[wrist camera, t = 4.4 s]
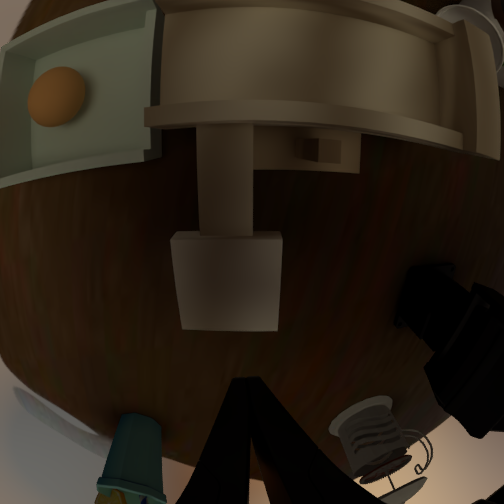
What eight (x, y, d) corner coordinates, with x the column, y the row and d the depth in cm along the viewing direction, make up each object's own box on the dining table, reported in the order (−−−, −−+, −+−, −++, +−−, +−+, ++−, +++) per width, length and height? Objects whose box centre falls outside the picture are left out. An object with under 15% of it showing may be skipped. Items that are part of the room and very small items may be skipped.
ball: (23, 80, 10) (71, 77, 13) (20, 136, 11) (69, 128, 15) (41, 57, 8) (98, 58, 11) (36, 124, 10) (95, 117, 13)
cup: (147, 384, 23) (127, 522, 10) (206, 416, 26) (211, 538, 12) (94, 422, 26) (73, 517, 12) (142, 447, 29) (134, 537, 15)
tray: (165, 20, 12) (152, -10, 8) (162, 157, 16) (143, 161, 12) (34, 57, 11) (1, 47, 7) (31, 177, 15) (-6, 189, 11)
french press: (329, 411, 29) (392, 580, 6) (409, 380, 29) (491, 519, 6) (327, 442, 32) (372, 576, 9) (395, 417, 33) (455, 534, 10)
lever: (448, 47, 9) (489, 34, 6) (425, 301, 16) (455, 335, 12) (171, 10, 9) (147, -25, 6) (181, 308, 16) (164, 353, 12)
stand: (351, 21, 13) (385, -3, 9) (354, 172, 18) (393, 183, 13) (241, 5, 13) (249, -32, 8) (240, 168, 17) (247, 177, 13)
